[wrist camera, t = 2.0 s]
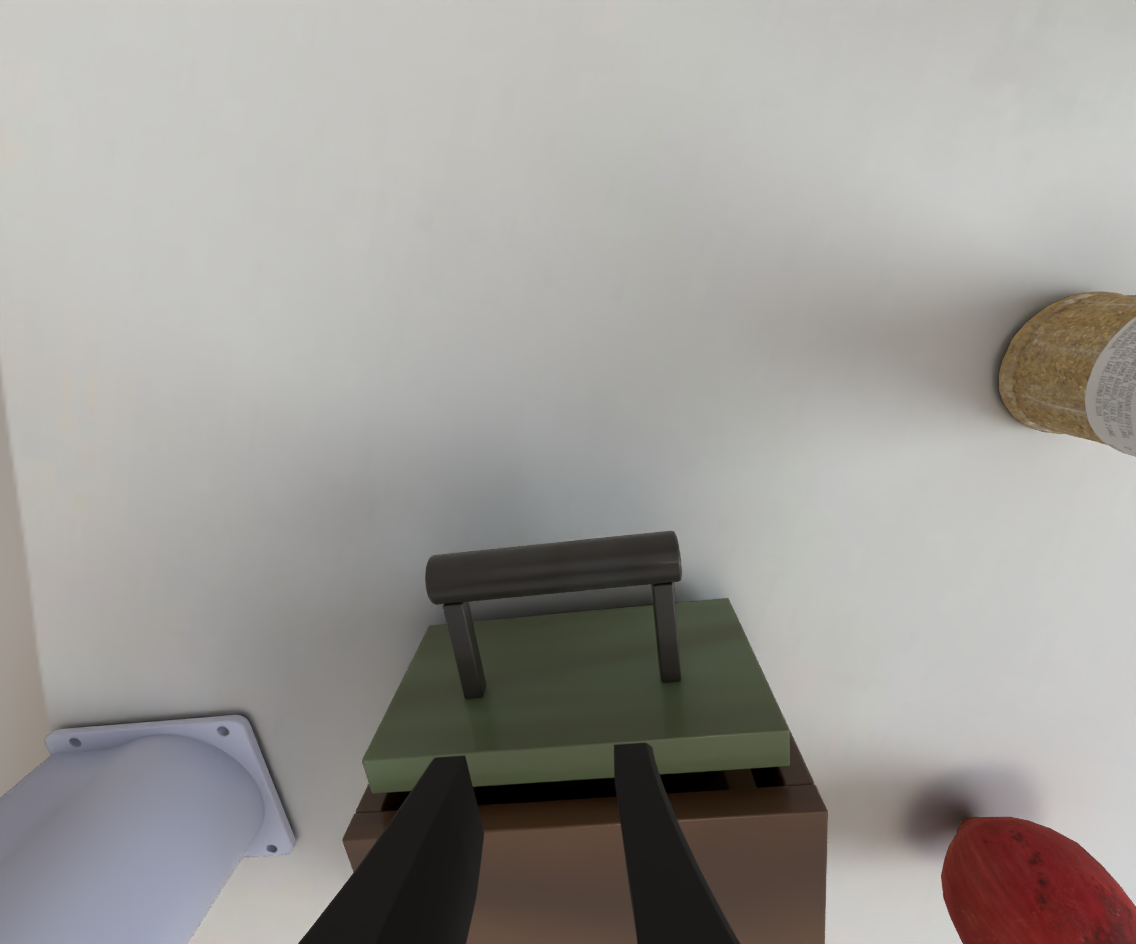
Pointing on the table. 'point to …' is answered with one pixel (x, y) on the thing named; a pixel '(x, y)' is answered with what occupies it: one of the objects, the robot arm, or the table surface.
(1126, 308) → the sprinkles bottle
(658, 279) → the table surface
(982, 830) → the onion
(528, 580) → the drawer
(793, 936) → the cabinet
